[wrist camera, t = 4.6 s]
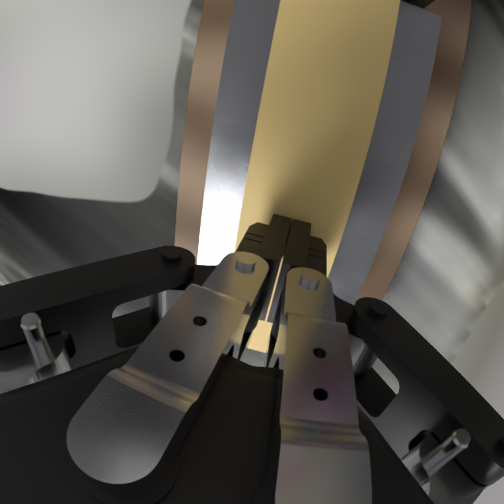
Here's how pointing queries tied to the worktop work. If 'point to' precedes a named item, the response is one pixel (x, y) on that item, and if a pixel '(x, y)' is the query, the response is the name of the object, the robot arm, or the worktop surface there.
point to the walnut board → (421, 160)
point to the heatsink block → (379, 152)
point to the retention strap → (316, 118)
